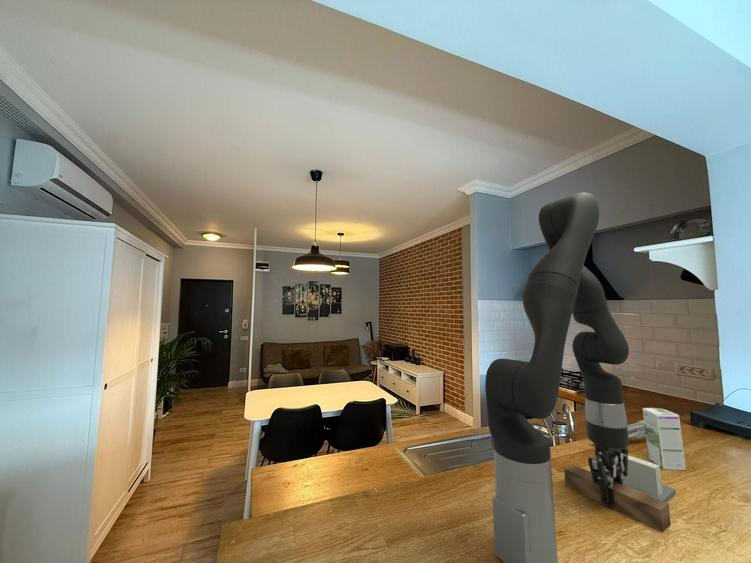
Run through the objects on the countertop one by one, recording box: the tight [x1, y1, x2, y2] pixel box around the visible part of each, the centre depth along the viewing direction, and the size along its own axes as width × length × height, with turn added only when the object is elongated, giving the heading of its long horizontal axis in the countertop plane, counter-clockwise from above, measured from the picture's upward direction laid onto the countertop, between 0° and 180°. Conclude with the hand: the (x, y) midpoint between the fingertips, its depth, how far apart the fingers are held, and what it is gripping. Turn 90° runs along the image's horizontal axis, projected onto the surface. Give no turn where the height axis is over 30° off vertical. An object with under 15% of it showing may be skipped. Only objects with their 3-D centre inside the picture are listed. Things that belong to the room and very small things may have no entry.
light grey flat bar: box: [592, 419, 646, 445], centre depth 96 cm, size 2×30×8 cm, turn 98°
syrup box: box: [642, 407, 687, 471], centre depth 83 cm, size 6×6×14 cm
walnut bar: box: [563, 464, 672, 533], centre depth 66 cm, size 18×4×4 cm, turn 29°
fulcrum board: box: [605, 454, 677, 503], centre depth 72 cm, size 12×12×7 cm
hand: (612, 500), depth 66 cm, fingers closed on walnut bar, 4 cm apart
